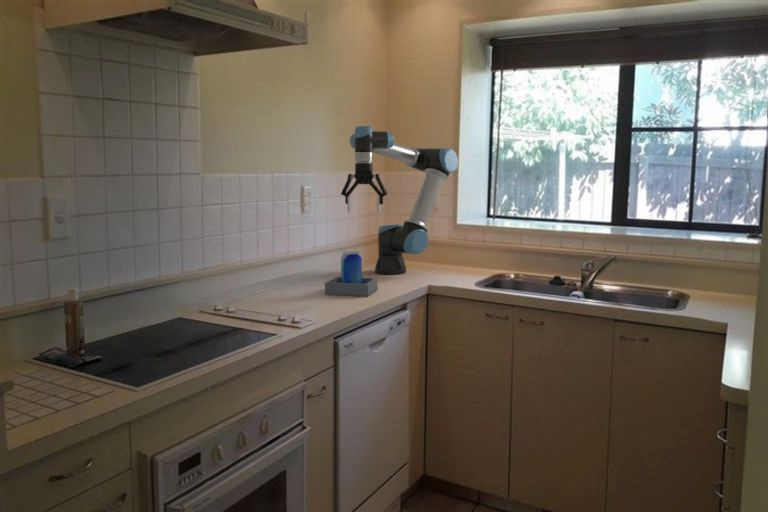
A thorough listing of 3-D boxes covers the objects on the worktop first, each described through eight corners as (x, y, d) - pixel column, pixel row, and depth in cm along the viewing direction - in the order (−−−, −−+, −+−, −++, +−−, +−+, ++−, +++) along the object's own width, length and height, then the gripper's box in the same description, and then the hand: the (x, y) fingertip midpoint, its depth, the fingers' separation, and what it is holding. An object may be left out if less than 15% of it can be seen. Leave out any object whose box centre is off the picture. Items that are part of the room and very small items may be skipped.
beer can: (345, 293, 267) (345, 254, 265) (338, 289, 274) (338, 251, 272) (365, 291, 270) (364, 253, 268) (357, 288, 278) (356, 250, 276)
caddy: (336, 288, 281) (336, 276, 281) (377, 289, 277) (377, 278, 276) (325, 294, 268) (324, 282, 267) (367, 296, 263) (367, 284, 263)
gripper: (333, 162, 283) (334, 212, 286) (389, 162, 277) (389, 212, 280) (339, 162, 290) (339, 210, 293) (393, 162, 284) (394, 211, 287)
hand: (364, 211), depth 287 cm, fingers open, 13 cm apart
